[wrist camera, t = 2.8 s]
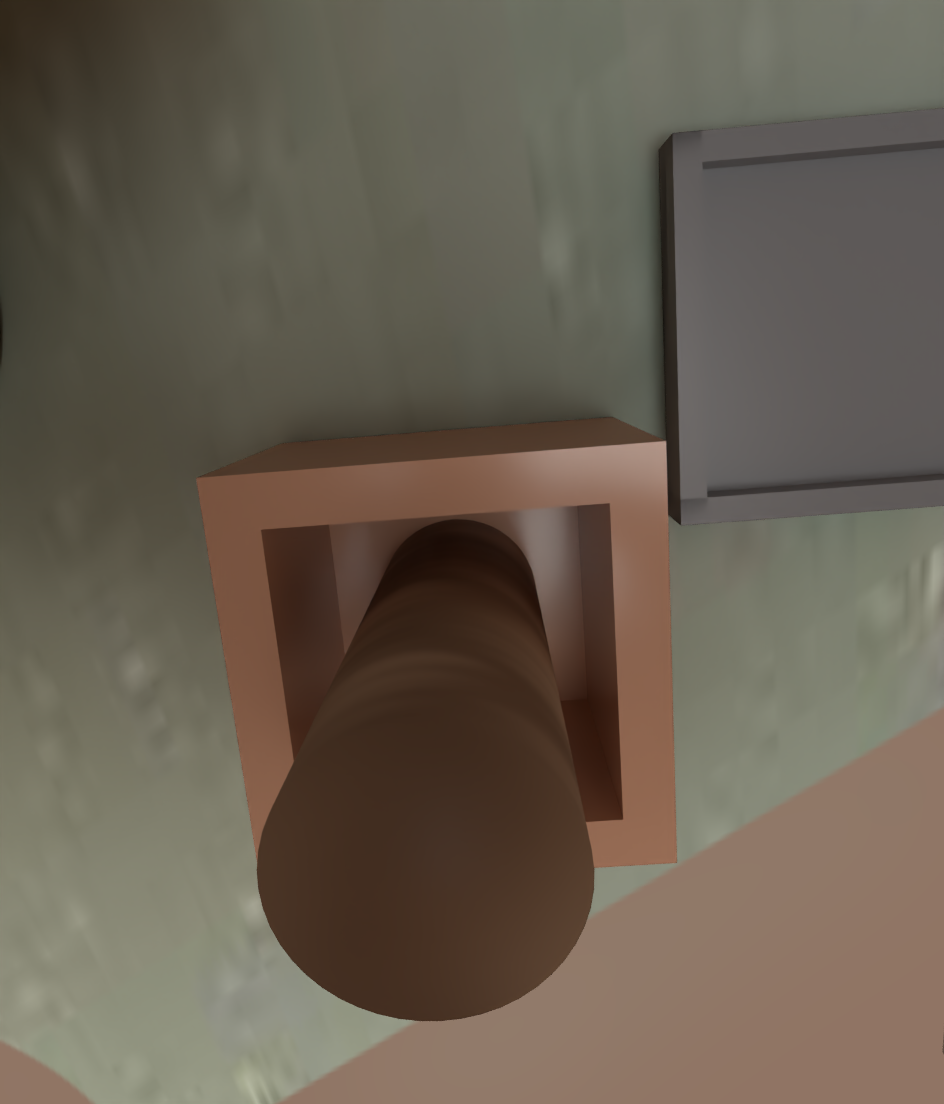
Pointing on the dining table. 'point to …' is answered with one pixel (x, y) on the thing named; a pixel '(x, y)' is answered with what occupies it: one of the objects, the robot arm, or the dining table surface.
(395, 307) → the dining table surface
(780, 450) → the tray
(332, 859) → the dowel
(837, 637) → the dining table surface
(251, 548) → the open box
